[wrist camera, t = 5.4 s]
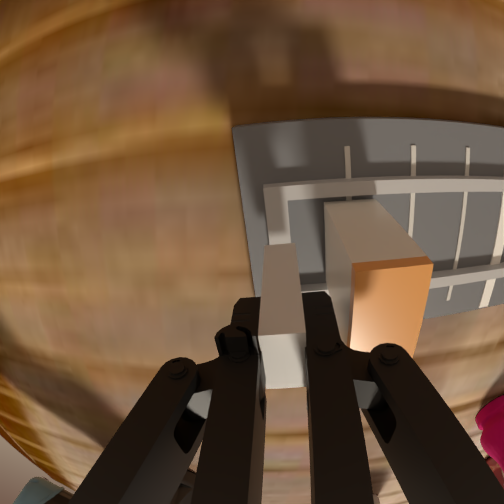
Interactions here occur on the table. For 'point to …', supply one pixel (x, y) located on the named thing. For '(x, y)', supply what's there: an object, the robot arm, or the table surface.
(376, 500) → the coffee cup
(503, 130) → the panel
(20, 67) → the table surface
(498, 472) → the liquor
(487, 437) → the pepper mill
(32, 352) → the table surface
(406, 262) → the fader
